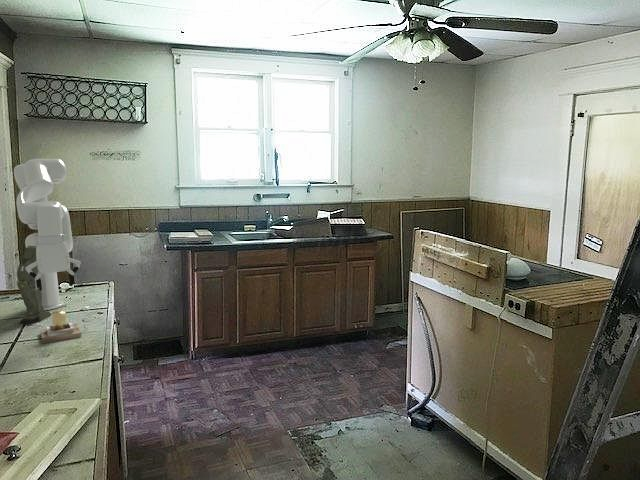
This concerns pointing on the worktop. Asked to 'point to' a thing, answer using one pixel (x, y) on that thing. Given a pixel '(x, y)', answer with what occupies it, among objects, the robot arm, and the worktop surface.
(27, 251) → the mechanical leg
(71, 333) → the fitting board
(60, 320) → the cylinder
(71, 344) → the worktop surface
